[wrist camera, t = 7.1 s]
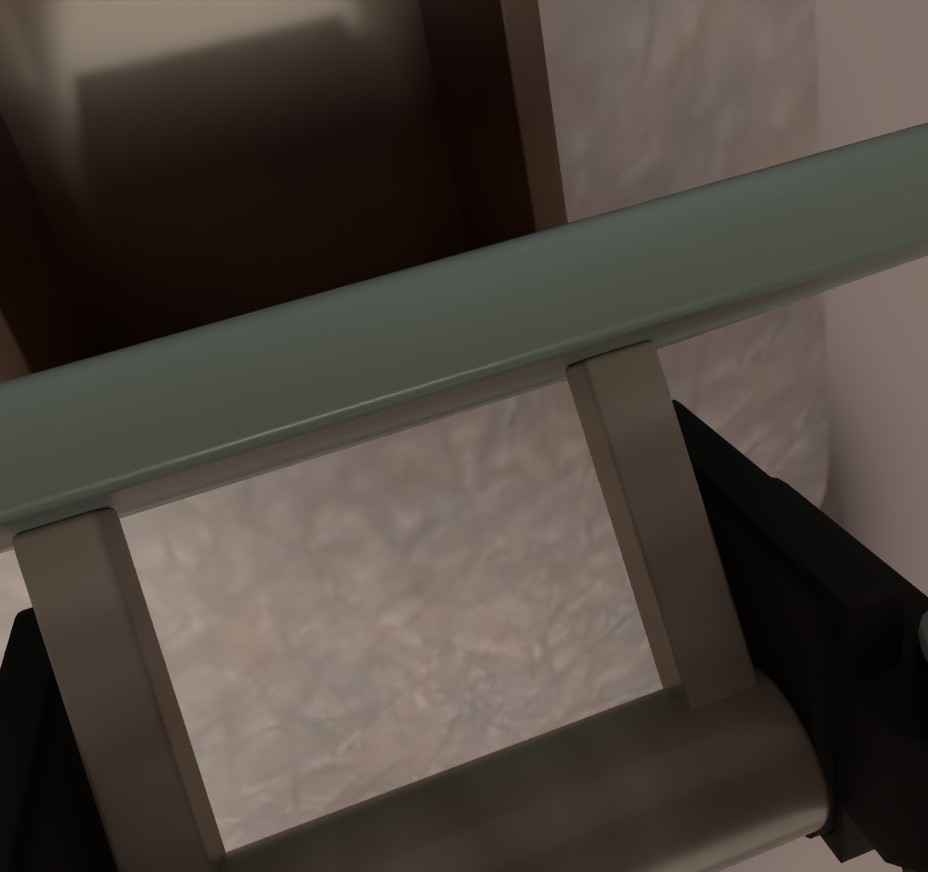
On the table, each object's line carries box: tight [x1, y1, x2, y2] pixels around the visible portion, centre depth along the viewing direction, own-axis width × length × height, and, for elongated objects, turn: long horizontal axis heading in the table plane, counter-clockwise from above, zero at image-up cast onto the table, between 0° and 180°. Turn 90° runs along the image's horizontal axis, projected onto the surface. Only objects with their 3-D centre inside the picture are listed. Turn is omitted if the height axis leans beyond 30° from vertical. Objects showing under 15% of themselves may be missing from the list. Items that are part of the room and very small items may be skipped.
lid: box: [0, 123, 928, 872], centre depth 12 cm, size 14×13×6 cm
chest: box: [0, 0, 568, 383], centre depth 20 cm, size 14×13×8 cm
